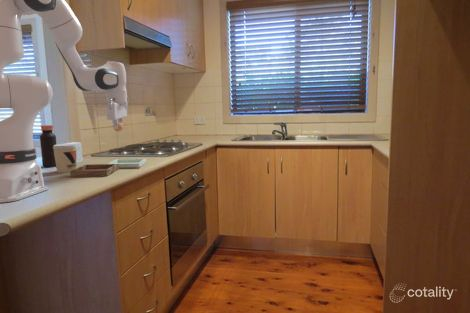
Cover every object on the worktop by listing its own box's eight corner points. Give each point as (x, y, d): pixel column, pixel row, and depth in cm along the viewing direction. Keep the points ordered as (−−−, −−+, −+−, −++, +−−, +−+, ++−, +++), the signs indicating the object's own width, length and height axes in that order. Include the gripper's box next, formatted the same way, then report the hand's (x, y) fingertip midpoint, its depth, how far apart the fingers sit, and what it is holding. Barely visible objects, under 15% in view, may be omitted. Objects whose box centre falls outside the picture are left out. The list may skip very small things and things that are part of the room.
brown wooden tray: (107, 176, 137) (106, 170, 136) (70, 177, 136) (70, 171, 135) (118, 169, 152) (118, 163, 152) (85, 170, 151) (85, 164, 151)
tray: (139, 168, 154) (139, 163, 154) (106, 168, 153) (106, 164, 153) (146, 162, 169) (146, 158, 169) (116, 163, 168) (116, 159, 168)
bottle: (40, 166, 162) (36, 125, 159) (54, 164, 167) (50, 125, 164) (46, 168, 158) (42, 126, 155) (61, 166, 163) (57, 125, 160)
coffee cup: (69, 173, 144) (66, 146, 142) (50, 172, 146) (47, 145, 144) (82, 169, 153) (80, 143, 151) (65, 169, 155) (62, 143, 153)
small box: (74, 161, 176) (72, 142, 175) (83, 162, 175) (81, 142, 173) (62, 164, 168) (61, 143, 167) (72, 164, 167) (70, 143, 165)
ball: (121, 132, 152) (121, 122, 152) (111, 131, 152) (111, 122, 151) (124, 131, 157) (124, 121, 156) (114, 130, 157) (114, 121, 156)
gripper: (117, 98, 142) (118, 130, 144) (129, 97, 162) (130, 126, 164) (102, 98, 141) (103, 130, 144) (116, 97, 161) (117, 125, 164)
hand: (118, 128), depth 154 cm, fingers closed on ball, 4 cm apart
